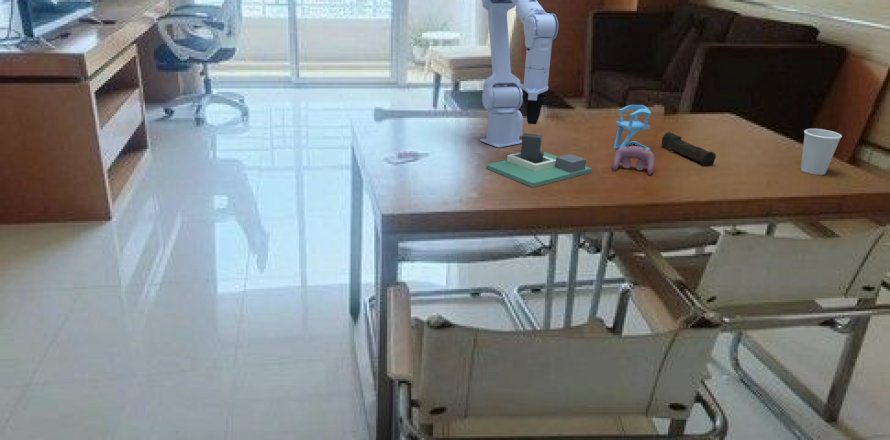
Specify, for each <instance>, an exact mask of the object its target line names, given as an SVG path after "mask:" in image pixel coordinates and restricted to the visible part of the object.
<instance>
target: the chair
mask: <svg viewBox="0 0 890 440" xmlns="http://www.w3.org/2000/svg"><path fill="white" fill-rule="evenodd" d="M628 110H632V111H633V112H632V113H629V120H624V116H623V113H624V112H625V111H628ZM618 111H619V120H616V122H615V125H616V126H617V132H616V136H615V140H614V145H613V149H617V150H618V149H619V148H621V147H627V146H629V145H630V146H636V145H637V146H639V147H643V148H645V149H648V150H650V151H651V148H650V147H648V146H646V145H643V144H641V143H640V142H638V141H636V140H633V141H632V140H631V138H633V137H634V135H635V134H637V132H640V131H643V130H650V129H651V125H649V124H648V120H649V119H650V118H649V117H650V116H651V114H652V112H651V110H650V109H649V108H648V107H647V106H645V105H644V104H630V105H629V104H628V105H626V106H624V107H622V108H620V109H618ZM639 115H644V116H646V117H645V118H644V119H643V120H644V121H643V122H642V121H640V120H639V119H638V117H639ZM633 118H634V119H633ZM624 130H626V131H628V134H626V137H625V138H624V140H623V142H622V143H620V142H621V139H622V135H623V132H624ZM630 140H631V141H630ZM633 144H635V145H633Z"/></svg>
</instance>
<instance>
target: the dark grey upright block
mask: <svg viewBox="0 0 890 440" xmlns="http://www.w3.org/2000/svg"><path fill="white" fill-rule="evenodd" d="M519 140H522V143H521V147H520V152H521V157H520V158H521V159H524V160H527V161H529V162H532V163H535V164H536V163H541V162H543V155H544V152H545V151H542V144H543V143H542V142H543V134H540V133H539V134H537V133H526V132H524V133H522V136H521V135H520V136H519Z"/></svg>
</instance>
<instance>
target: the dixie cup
mask: <svg viewBox="0 0 890 440" xmlns="http://www.w3.org/2000/svg"><path fill="white" fill-rule="evenodd" d="M803 133H804V138H803V147H802V156H801V162H800V163H801V164H800V171H802V172H804V173H807V174H810V175H817V176H823V175H826V173H827V171H828V169H829V166H830V165H831V161H832V158H833V156H834V154H835V151H836V150H837V147H838V145H839V143H840V140H841V138H842V137H843V136H842V134H841V133H838V132H836V131H832V130H830V129H829V130H827V129H823V128H807V129H805V130H803Z"/></svg>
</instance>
